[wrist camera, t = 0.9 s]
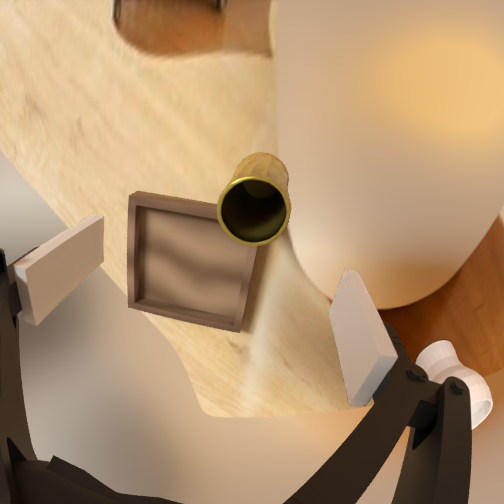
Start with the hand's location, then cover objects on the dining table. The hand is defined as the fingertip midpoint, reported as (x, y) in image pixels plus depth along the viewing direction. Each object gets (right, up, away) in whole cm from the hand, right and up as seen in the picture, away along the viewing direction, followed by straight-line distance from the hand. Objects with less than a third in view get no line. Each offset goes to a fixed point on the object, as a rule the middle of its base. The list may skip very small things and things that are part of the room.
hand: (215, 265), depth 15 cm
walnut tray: (-6, 0, +24) cm, 24 cm away
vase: (+3, +9, +19) cm, 21 cm away
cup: (+33, -17, +28) cm, 47 cm away
